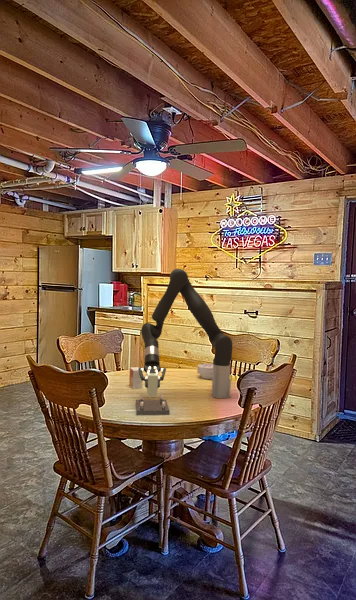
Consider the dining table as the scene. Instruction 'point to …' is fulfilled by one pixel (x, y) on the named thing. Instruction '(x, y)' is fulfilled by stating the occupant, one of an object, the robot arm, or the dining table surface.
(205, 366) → the paper bowls
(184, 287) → the robot arm
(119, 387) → the dining table surface
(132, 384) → the small box
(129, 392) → the dining table surface
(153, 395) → the beige tall block
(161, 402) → the pin plate
